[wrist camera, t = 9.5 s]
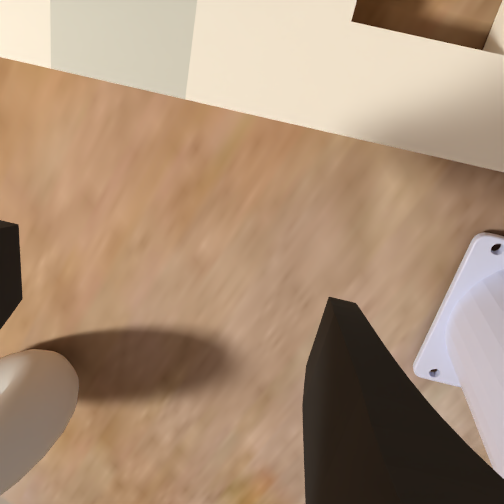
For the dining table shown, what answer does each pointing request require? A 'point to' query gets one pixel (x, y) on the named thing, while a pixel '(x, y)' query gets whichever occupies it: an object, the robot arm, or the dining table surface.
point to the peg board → (280, 66)
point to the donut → (32, 409)
